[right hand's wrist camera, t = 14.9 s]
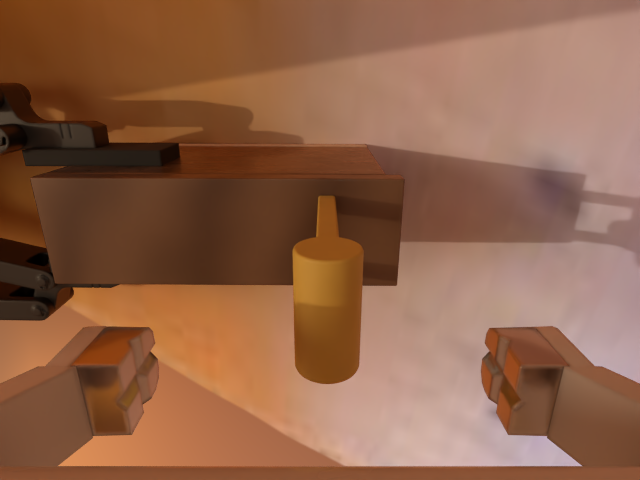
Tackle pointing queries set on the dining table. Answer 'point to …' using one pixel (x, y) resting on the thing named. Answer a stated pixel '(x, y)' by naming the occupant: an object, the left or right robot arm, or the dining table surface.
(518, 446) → the dining table surface
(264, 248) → the lid
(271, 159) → the chest
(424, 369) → the dining table surface
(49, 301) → the left robot arm
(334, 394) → the dining table surface
